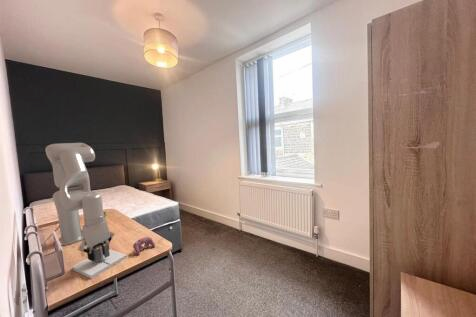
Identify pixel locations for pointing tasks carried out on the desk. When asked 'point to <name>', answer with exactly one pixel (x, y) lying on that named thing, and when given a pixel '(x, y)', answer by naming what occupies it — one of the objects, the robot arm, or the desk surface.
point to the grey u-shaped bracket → (97, 251)
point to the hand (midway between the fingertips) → (99, 255)
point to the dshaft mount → (98, 263)
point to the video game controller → (145, 240)
